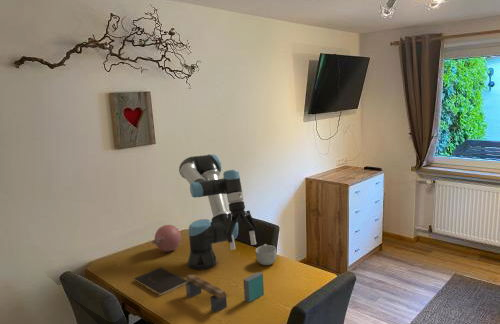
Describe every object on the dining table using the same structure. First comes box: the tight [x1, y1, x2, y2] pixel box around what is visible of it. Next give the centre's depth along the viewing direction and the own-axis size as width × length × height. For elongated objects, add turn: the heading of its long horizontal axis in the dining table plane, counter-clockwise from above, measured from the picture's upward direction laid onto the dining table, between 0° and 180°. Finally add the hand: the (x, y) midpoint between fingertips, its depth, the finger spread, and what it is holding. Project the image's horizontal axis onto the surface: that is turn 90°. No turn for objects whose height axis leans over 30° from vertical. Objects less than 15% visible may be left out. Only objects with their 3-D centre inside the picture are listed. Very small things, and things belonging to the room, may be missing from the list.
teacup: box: [254, 243, 277, 266], centre depth 204 cm, size 14×11×8 cm
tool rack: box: [185, 282, 228, 314], centre depth 168 cm, size 21×6×6 cm, turn 44°
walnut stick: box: [186, 273, 226, 299], centre depth 167 cm, size 24×2×2 cm, turn 44°
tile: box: [242, 271, 265, 303], centre depth 168 cm, size 3×9×10 cm, turn 134°
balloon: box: [151, 224, 182, 252], centre depth 223 cm, size 15×20×15 cm
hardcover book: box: [133, 267, 188, 296], centre depth 188 cm, size 16×23×2 cm
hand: (243, 247), depth 179 cm, fingers open, 13 cm apart
